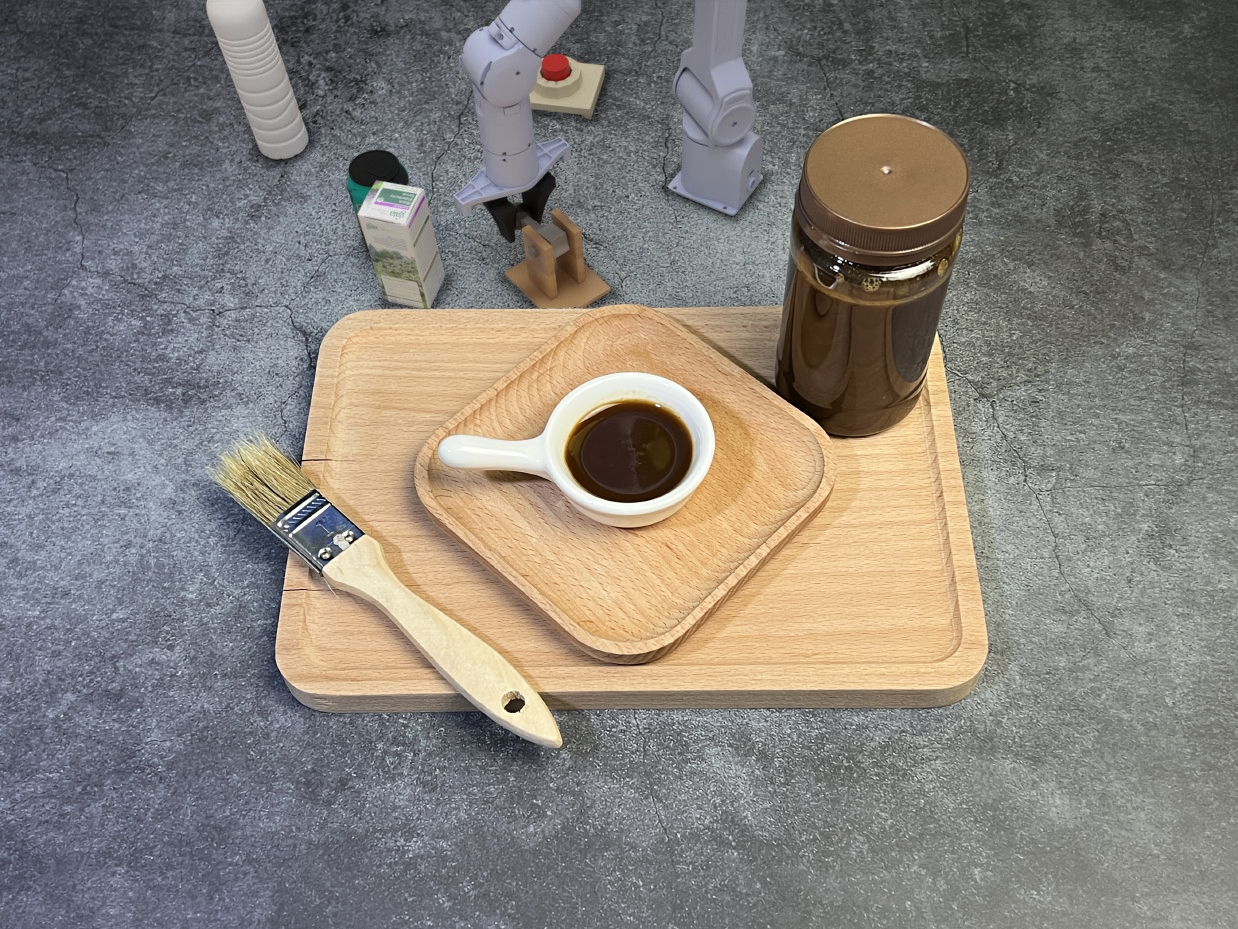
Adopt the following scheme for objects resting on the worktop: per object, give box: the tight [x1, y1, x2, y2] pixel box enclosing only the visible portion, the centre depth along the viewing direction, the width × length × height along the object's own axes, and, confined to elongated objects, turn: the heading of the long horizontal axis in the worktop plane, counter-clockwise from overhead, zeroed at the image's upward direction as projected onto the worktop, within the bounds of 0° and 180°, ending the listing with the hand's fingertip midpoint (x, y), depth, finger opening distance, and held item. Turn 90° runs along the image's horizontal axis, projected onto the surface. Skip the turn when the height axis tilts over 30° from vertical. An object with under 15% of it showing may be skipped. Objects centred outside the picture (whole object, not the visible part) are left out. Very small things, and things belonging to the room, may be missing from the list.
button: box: [541, 53, 570, 82], centre depth 144 cm, size 4×4×2 cm
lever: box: [511, 201, 570, 259], centre depth 125 cm, size 10×3×3 cm, turn 38°
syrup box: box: [357, 180, 446, 309], centre depth 123 cm, size 6×6×14 cm
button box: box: [529, 55, 606, 120], centre depth 146 cm, size 11×9×4 cm
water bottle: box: [205, 0, 309, 160], centre depth 134 cm, size 9×6×25 cm
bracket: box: [504, 208, 612, 309], centre depth 125 cm, size 10×8×9 cm
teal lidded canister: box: [345, 149, 412, 254], centre depth 128 cm, size 7×7×12 cm
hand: (521, 230), depth 128 cm, fingers closed on lever, 3 cm apart
